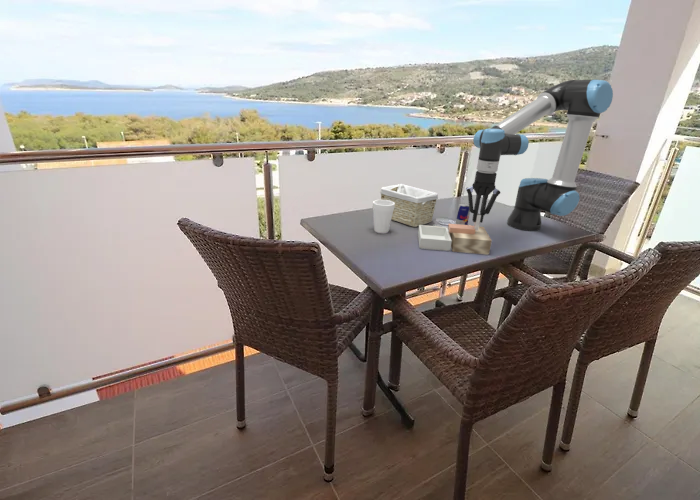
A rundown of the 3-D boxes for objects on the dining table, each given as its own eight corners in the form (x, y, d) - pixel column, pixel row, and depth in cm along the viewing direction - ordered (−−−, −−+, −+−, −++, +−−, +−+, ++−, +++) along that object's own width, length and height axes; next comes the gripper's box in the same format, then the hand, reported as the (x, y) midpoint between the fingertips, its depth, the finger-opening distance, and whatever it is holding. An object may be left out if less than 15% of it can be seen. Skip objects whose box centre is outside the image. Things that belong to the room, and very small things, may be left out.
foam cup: (395, 229, 168) (397, 201, 163) (388, 236, 160) (390, 207, 155) (375, 225, 171) (377, 198, 166) (367, 232, 164) (369, 203, 158)
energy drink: (460, 232, 168) (464, 207, 163) (452, 228, 172) (456, 203, 168) (469, 231, 170) (473, 205, 166) (460, 227, 175) (465, 202, 170)
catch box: (445, 236, 162) (447, 227, 160) (450, 251, 147) (451, 240, 146) (417, 234, 163) (419, 224, 161) (419, 248, 149) (420, 238, 147)
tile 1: (460, 229, 154) (460, 224, 153) (461, 233, 150) (462, 228, 149) (447, 228, 155) (448, 223, 154) (449, 232, 150) (450, 227, 149)
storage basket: (376, 215, 186) (379, 186, 180) (398, 210, 196) (401, 182, 190) (414, 229, 170) (418, 198, 164) (435, 222, 180) (439, 192, 174)
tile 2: (472, 230, 154) (473, 225, 153) (474, 234, 149) (475, 229, 148) (460, 229, 154) (460, 224, 153) (461, 233, 150) (462, 228, 149)
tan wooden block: (480, 239, 161) (483, 226, 158) (488, 254, 146) (491, 240, 144) (447, 237, 162) (450, 224, 160) (452, 251, 147) (454, 237, 145)
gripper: (470, 172, 139) (460, 231, 148) (506, 174, 137) (494, 234, 147) (467, 168, 146) (458, 225, 155) (501, 170, 144) (490, 227, 154)
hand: (475, 229), depth 151 cm, fingers closed
